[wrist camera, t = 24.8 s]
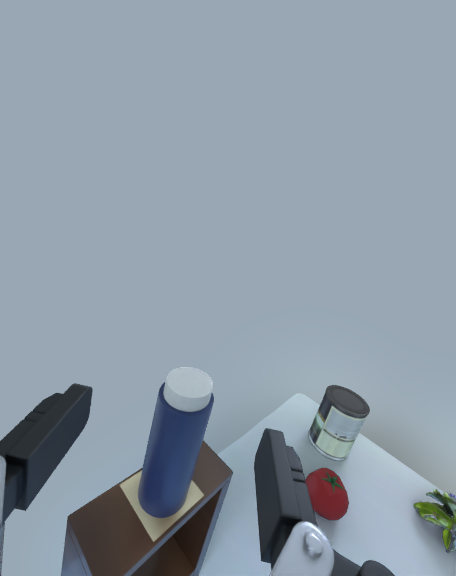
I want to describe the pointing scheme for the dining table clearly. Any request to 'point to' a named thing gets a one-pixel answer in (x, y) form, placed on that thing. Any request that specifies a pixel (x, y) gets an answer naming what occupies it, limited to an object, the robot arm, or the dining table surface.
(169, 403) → the water bottle
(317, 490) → the tomato
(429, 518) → the purple flowering plant
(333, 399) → the coffee can
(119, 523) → the shoe shelf
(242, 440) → the dining table surface
